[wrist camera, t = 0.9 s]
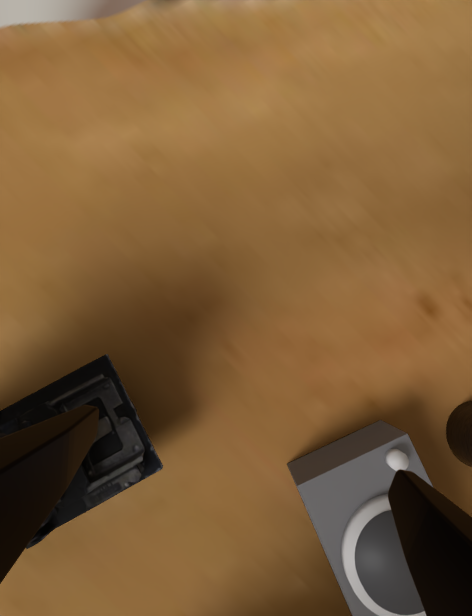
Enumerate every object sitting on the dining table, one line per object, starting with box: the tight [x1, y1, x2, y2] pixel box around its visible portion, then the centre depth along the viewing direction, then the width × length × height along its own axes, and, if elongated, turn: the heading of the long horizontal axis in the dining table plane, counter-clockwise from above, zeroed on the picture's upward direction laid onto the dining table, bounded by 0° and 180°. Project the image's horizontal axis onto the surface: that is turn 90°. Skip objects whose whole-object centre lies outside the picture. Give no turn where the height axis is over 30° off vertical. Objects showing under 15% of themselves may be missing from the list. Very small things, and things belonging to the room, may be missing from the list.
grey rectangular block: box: [287, 420, 433, 616], centre depth 20 cm, size 12×8×4 cm, turn 23°
